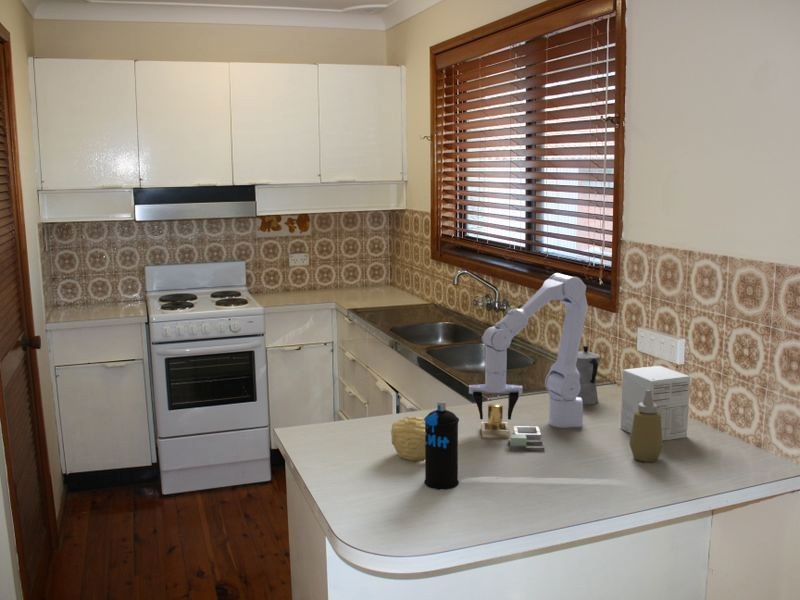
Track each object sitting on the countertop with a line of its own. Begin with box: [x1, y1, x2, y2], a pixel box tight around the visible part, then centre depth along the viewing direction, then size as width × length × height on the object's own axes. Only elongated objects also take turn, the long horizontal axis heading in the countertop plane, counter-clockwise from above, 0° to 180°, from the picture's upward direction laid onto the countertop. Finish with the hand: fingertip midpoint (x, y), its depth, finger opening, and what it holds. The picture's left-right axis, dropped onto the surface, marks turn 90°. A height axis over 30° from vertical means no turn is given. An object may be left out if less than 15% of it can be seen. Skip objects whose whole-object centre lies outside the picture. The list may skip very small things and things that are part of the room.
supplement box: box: [620, 365, 691, 442], centre depth 219 cm, size 13×13×18 cm
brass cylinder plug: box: [487, 402, 504, 430], centre depth 217 cm, size 4×4×8 cm
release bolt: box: [509, 433, 528, 446], centre depth 207 cm, size 4×3×3 cm
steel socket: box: [512, 425, 542, 441], centre depth 214 cm, size 7×7×2 cm
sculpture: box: [390, 416, 425, 462], centre depth 203 cm, size 12×12×11 cm
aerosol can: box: [423, 400, 460, 490], centre depth 185 cm, size 8×8×20 cm
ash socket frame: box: [480, 421, 511, 439], centre depth 218 cm, size 7×7×2 cm
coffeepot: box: [576, 345, 601, 406], centre depth 248 cm, size 15×9×18 cm, turn 9°
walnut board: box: [507, 439, 546, 452], centre depth 213 cm, size 17×19×2 cm
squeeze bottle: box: [629, 390, 663, 463], centre depth 200 cm, size 8×8×18 cm
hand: (495, 418), depth 217 cm, fingers open, 7 cm apart
